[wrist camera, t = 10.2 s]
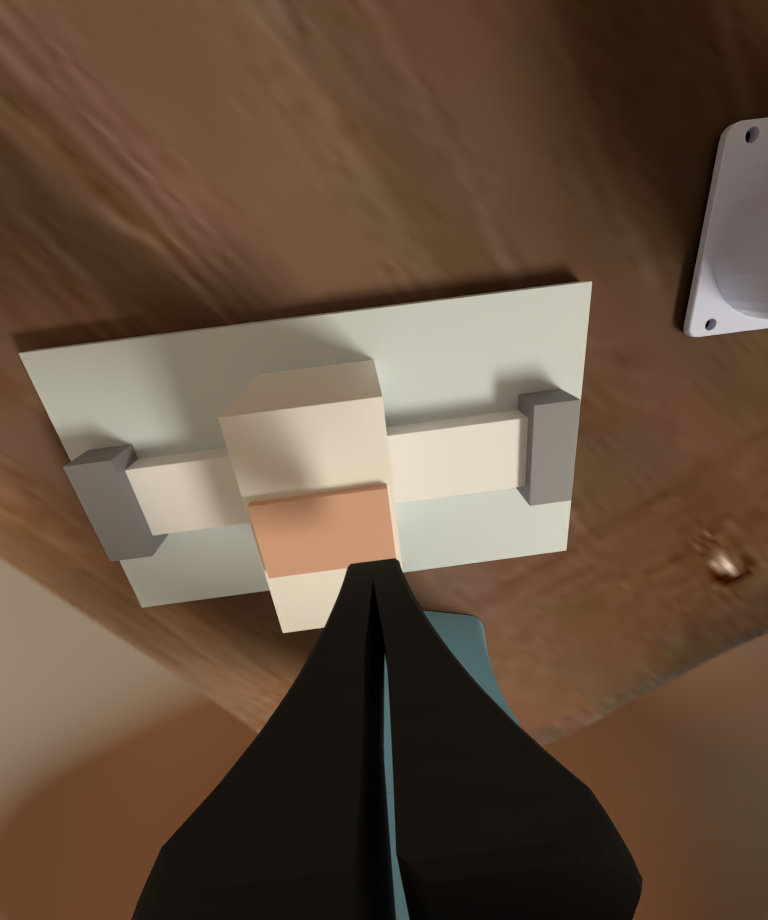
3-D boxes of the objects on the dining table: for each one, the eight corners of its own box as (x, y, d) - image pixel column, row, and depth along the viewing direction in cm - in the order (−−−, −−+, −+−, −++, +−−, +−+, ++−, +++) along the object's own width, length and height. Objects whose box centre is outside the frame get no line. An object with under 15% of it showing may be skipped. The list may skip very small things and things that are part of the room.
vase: (489, 616, 26) (807, 1412, 8) (457, 698, 29) (631, 1401, 11) (369, 605, 25) (411, 1498, 7) (349, 691, 28) (341, 1460, 10)
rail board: (580, 281, 18) (617, 281, 15) (558, 539, 24) (582, 571, 21) (35, 349, 17) (-19, 361, 15) (150, 594, 23) (125, 633, 21)
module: (373, 359, 18) (382, 399, 12) (394, 529, 21) (409, 621, 16) (260, 373, 18) (215, 420, 12) (301, 542, 21) (281, 639, 16)
